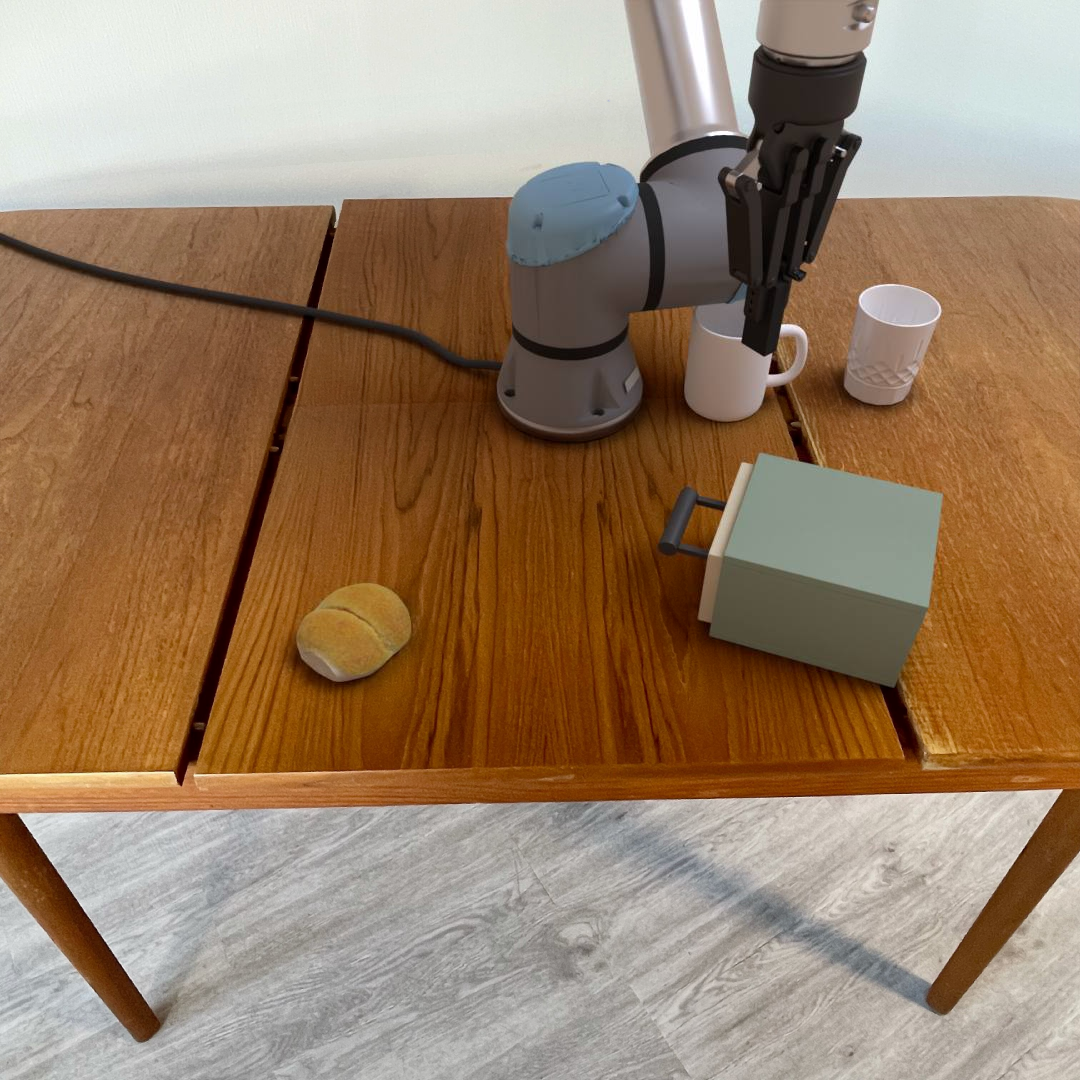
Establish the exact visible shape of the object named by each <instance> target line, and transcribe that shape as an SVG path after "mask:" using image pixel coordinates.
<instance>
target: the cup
mask: <svg viewBox="0 0 1080 1080" xmlns="http://www.w3.org/2000/svg"><path fill="white" fill-rule="evenodd" d="M744 303H745V300H740V301H735V302H734V303H732V304H725V303H720V304H710V305H701V306H694V308H693V310H692V318H691V325H690V326H691V327H690V333H689V334H690V335H689V342H688V344H689V345H688V351H687V360H686V368H685V378H684V386H683V387H684V388H683V389H684V390H683V394H684V398H685V402H686V403H687V405H688V406H689V408H690V409H691V410H692V411H693V412H695V414H697V415H699V416H701V417H703V418H705V419H708V420H711V421H716V422H726V423H728V422H731V423H732V422H737V421H741V420H745V419H748V418H750V417H751V416H753V415H754V414H755V413H757V412H758V410H759V409H760V407H762V404H763V401H764V398H765V393H766V389H767V388H775V387H781V386H785V385H786V384H789V383H791V382H792V381H794V380H795V379H797V377H798V376H799V375H800V374H801V372H802V370H803V369H804V367H805V364H806V361H807V357H808V350H809V344H808V343H809V342H808V336H807V334H806V332H805V330H804V329H802V328H801V327H800V326H799V325H796V324H792V323H791V324H790V323H785V324H783V323H782V325H781V330H780V335H779V339H781V338H794V339H795V340H794V341H795V342H796V353H795V357H794V360H793V363H792V365H791V366H790V368H789V369H788V370H786V371H784V372H783V373H778V374H769V372H770V368H771V363H772V357H773V353H771V354H769V355H767V356H765V357H763V356H762V355H760V354H758V353H757V352H755V351H753V350H752V349H750V348H749V347H747V346H745V345H744V344H742V343H741V340H742V334H743V328H744V322H745V316H744V312H743V310H744V305H745V304H744Z"/></svg>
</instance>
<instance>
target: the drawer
mask: <svg viewBox="0 0 1080 1080" xmlns="http://www.w3.org/2000/svg"><path fill="white" fill-rule="evenodd" d="M754 466H755V464H752V463H748V462H744V461H742V462H741V463H740V466H739V468H738V471H737V473H736V476H735V479H734V482H733V484H732V487H731V490H730V493H729V496H728V498H727V501H724V500H719V499H716V498H711V497H707V496H703V495H699V492H698V491H697V490H696V489H695V488H693V487H690V486H686V487H685V486H684V487H683V488H681V490H680V491H679V493H678V496H677V499H676V501H675V503H674V505H673V508H672V510H671V513H670V514H669V518H668V520H667V522H666V525H665V527H664V529H663V532H662V534H661V537H660V539H659V541H658V543H657V550H658V551H659V553H660V554H662V555H663V556H667V557H673V556H675V555H676V554H677V553H678V554H683V555H686V556H689V557H693V558H697V559H701V560H704V561H705V560H706V566H705V573H704V577H703V584H702V589H701V590H702V591H701V597H700V602H699V608H698V615H697V620H698V621H702V622H706V623H708V624H711V622H712V616H713V610H714V605H715V599H716V594H717V588H718V583H719V577H720V572H721V566H722V562H723V555H724V552H725V549H726V547H727V544H728V541H729V538H730V535H731V532H732V529H733V526H734V523H735V521H736V518H737V515H738V512H739V509H740V506H741V503H742V500H743V498H744V495H745V492H746V489H747V486H748V483H749V480H750V477H751V474H752V472H753V469H754ZM696 506H701V507H704V508H709V509H713V510H717V511H720V512H723V513H722V515H721V518H720V520H719V523H718V526H717V529H716V531H715V534H714V538H713V540H712V543H711V546H710V548H709V549H705V548H701V547H698V546H694V545H690V544H686V543H682V539H683V537H684V535H685V533H686V530H687V527H688V525H689V522H690V520H691V517H692V515H693V512H694V509H695V507H696Z"/></svg>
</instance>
